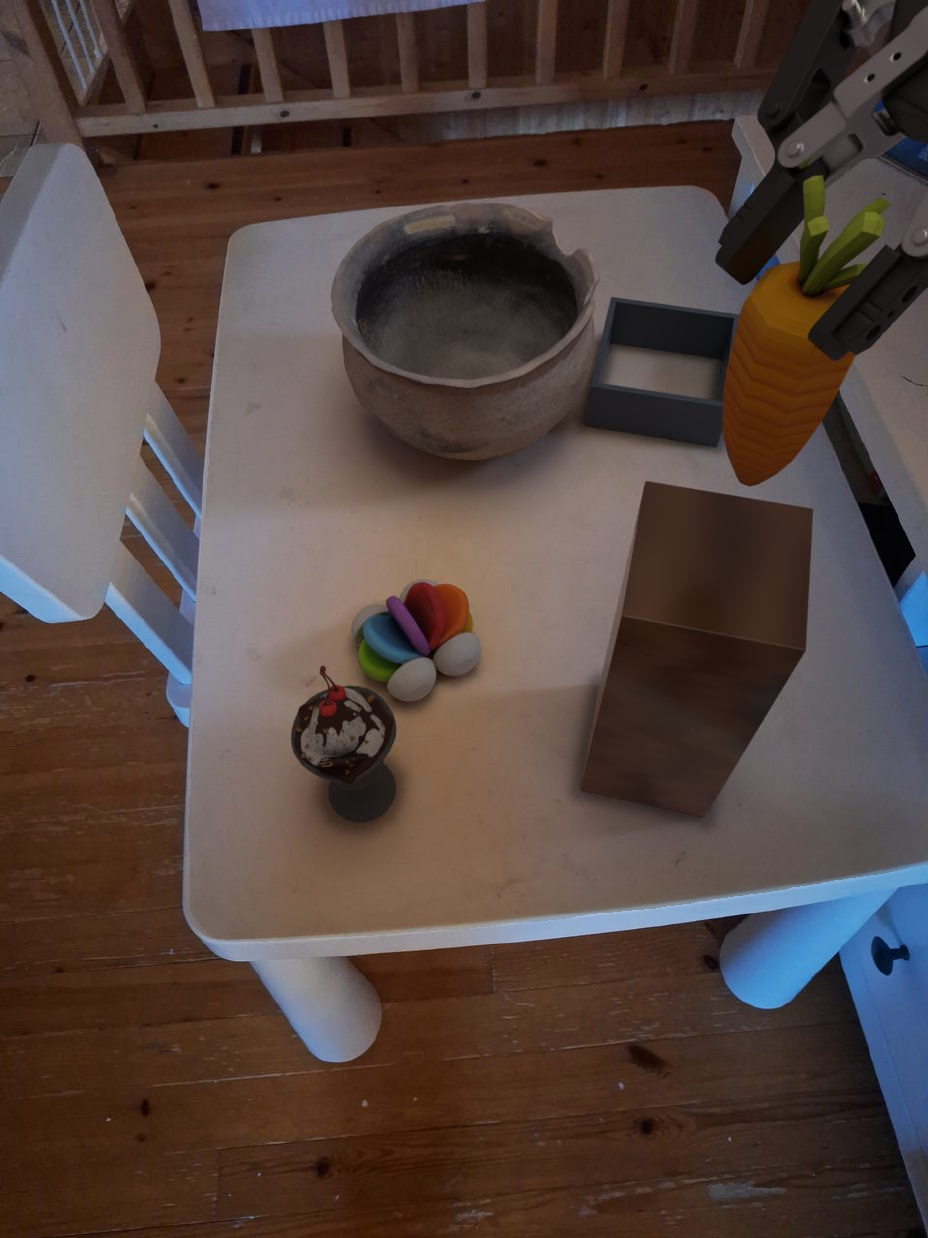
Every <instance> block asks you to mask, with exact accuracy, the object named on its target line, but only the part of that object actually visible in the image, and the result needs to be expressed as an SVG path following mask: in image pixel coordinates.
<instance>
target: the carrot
mask: <svg viewBox="0 0 928 1238" xmlns="http://www.w3.org/2000/svg"><path fill="white" fill-rule="evenodd" d="M803 195H804V219H803V231H802V234H801V237H800V240H799V260H798V261H797V260H796V261H792V262H786V263H781V264H777V265H773V266H771V267H770V266H769V267H768V268H766V269H765V270H764V271H763V273H762V274H761V276H760V278H759V279H758V280H757V283H756V284H755V285H754V287H753V288H752V290H751V291H750V293H749V295H748V296H747V298H746V299H745V301H744V303H743V304H742V306H741V309H740V312H739V320H738V324H737V328H736V332H735V336H734V340H733V344H732V348H731V353H730V358H729V363H728V368H727V373H726V378H725V383H724V397H723V430H722V436H723V442H724V446H725V450H726V455H727V458H728V460H729V462H730V465H731V467H732V470H733V473H734V474H735V477H736V478H737V481H738V482H739V484H741V485H744V486H746V487H749V488H750V487H753V486H759V485H760V484H762V483H764V482H766V481H768V480H769V479H771V478H773V477H774V476H777V474H779V473H780V472H782V470H784V469H785V468H786V467H787V466H788V465H790V464H791V463H792V462H793V461H794V460H795V459H796V458H797V456H798V455H799V453H801V451H802V449H803V448H804V447H805V446H806V445H807V443H808V442H809V440H810V439H811V438H812V436H813V435H814V433H815V432H816V431H817V429H818V428H819V426H820V424H821V423H822V422H823V421H824V418H825V416H826V415H827V413H828V410H829V409H830V407H831V405H832V403H833V402H834V400H835V398H836V396H837V394H838V392H839V390H840V388H841V386H842V384H843V382H844V380H845V378H846V376H847V375H848V372H849V371H850V368H851V367H852V365H853V362H854V361H855V359H856V356H857V355H854V354H853V353H852V352H851V351H849V352H848V353H847V354H846V355H845V356H844V357H842V358H841V359H839V360H837V361H833V360H831V359H830V358H829V357H828V356H826V355H825V354H824V353H823V352H822V351H820V350H819V349H818V348H817V347H816V346H815V345H813V344H812V343H811V342H810V341H809V340H808V333H809V331H810V329H811V328H812V327H813V325H814V324H815V323H816V322H817V321H818V320H819V319H820V317H821V316H822V315H823V314H824V313H825V312H826V311H827V310H828V308H829V307H830V306H831V305H832V304H833V303H834V302H835V301H836V299H837V298H838V297H839V296H840V295H841V294H842V293H843V292H844V291H845V289H846V288H847V287H848V286H849V285H850V284H851V283H852V282H853V280H854V279H855V278H856V277H857V276H858V275H859V274H860V273H861V271H862V270H863V269H864V268H865V267H866V266H867V265H868V264H867V263H855V264H852V265H849V266H847V264H849V263H851V261H853V260H854V259H855V258H856V257H858V256H860V254H862V253H863V252H865V250H867V249H868V248H870V246H871V245H873V244H874V243H875V242H876V241H877V240H878V239H879V238H881V237H882V234H883V231H884V228H885V219H884V217H883V216H882V215H881V214H882V213H883V212H884V211H886V210H887V209H888V208H889V207H890V206H891V203H889V201H888V200H886V199H884V198H882V197H878V198H875V199H874V200H872V201H871V202H869V203H868V204H867V205H865V206H864V207H863V208H862V209H861V210H860V211H858V212H857V213H856V214H855V215H854V216H853V218H851V220H850V221H849V222H848V224H847V225H846V226H845V227H844V228H843V230H842V231H841V232H840V234H839V235H838V236H837V237H836V238H835V239H834V240H833V241H832V242H831V243H830V244H829V245H828V246H827V248H826V249H825V251H824V252H823V253H822V254H821V256H820V250H821V246H822V244H823V242H824V241H825V238H826V236H827V235H828V232H829V230H830V229H829V221H828V219H827V217H826V216H825V207H826V189H825V185H824V178H823V175H820V176H812V177H811V178H809V179H807V180H805V182H804V183H803ZM845 266H847V267H845Z"/></svg>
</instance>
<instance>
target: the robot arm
mask: <svg viewBox="0 0 928 1238" xmlns="http://www.w3.org/2000/svg"><path fill="white" fill-rule="evenodd" d="M890 21H891V23H890V27H889V32H888V38H887V41H886V42H887V43H886V45H885V46H883V47H882V48H881V49H880V50H879V51H877V52H876V53H875V54H874V55H872V56H871V57H870V58H869V59H868V60H866V61H865V62H864V63H863V64H862V65H860V66H859V67H858V68H857V69H855V70H854V71H853V72H851V74H849V76H847V77H846V78H845V76H846V74H847V72H848V70H849V68H850V66H851V64H852V62H853V60H854V58H855V57H856V55H857V52H858V51H859V48H860V47H862V48H868V47H870V46H872V44H873V43H874V41H875V38H876V37H875V36H876V35H877V33H878V32H879V30H880V29H881V27H883V26H884V25H885V24H886V23H888V22H890ZM785 52H786V53H785V54H784V56H783V58H782V60H781V62H780V63H779V64H780V65H779V66H778V69H777V70H776V72H775V74H774V77H773V79H772V81H771V82H770V85H769V87H768V89H767V91H766V93H765V95H764V97H763V99H762V101H761V103H760V105H759V107H758V110H757V114H756V118H757V121H758V124H759V125H760V126H761V127H762V129H763V130H764V132H765V134H766V136H767V138H768V139H769V142H770V144H771V146H772V147H773V150H774V151H773V152H774V160H773V163H772V166H771V167H770V168H769V169H770V170H769V171H768V172H767V173H766V175H765V176H763V178H762V179H761V181H760V182H759V183H758V184H757V186H755V188H754V190H753V191H752V192H751V193H750V195H749V196H748V197H747V198H746V200H745V201H744V202H743V204H742V205H741V206H740V207H739V208H738V210H737V211H736V212H735V214H734V215H733V216H732V217H731V218H730V220H729V221H728V222H727V223H726V224H725V226H724V227H723V229H722V232H721V233H720V237H719V239H718V241H717V243H718V244H719V245H720V247H719V248H718V250H717V252H716V254H715V256H714V257H715V258H714V262H715V264H716V265H717V266H718V267H719V268H721V269H722V270H723V271H724V272H725V273H727V274H728V275H729V276H730V277H731V278H732V279H734V280H735V281H736V282H737V283H739V284H740V285H741V286H746V285H748V284H750V283H751V282H752V281H753V280H754V279H755V278H756V277H757V276H758V274H759V273H760V272H761V271H762V270H763V269H764V268H765V266H766V265H767V264H768V263H769V261H770V260H771V259H772V258H773V256H774V255H775V254H776V253H777V252H778V251H779V249H780V248H781V247H782V246H783V244H784V243H785V242H786V241H787V240H788V239H789V238H790V236H791V235H792V234H793V233H794V231H795V230H796V229H797V228H798V227H799V226H800V225H801V223H802V222H804V195H803V183H804V182H805V180H807V179H809V178H811V177H812V176H820V175H823V178H824V185H825V190H826V189H827V188H829V187H830V186H831V185H833V184H834V183H835V182H837V181H838V180H839V179H840V178H842V177H844V176H845V175H846V174H847V173H848V172H850V171H851V170H852V169H854V168H855V167H857V166H858V165H859V164H860V163H861V162H863V161H865V160H868V159H869V160H870V159H873V160H874V159H877V158H878V157H881V156H882V155H884V154H885V153H886V152H888V151H890V150H891V149H892V148H893V147H895V146H896V145H898V143H900V142H901V141H902V140H905V138H906V137H907V138H908V139H910V140H912V141H914V142H918V143H922V144H925V145H928V0H811V1H810V3H809V5H808V7H807V9H806V11H805V13H804V15H803V17H802V19H801V21H800V23H799V26H798V27H797V29H796V31H795V34H794V35H793V38H792V40H791V42H790V44H789V46H788V48H787V50H786V51H785ZM844 78H845V79H844ZM880 101H881V102H882V103H881V104H882V105H883V108H882V109H880V110H878V111H875V112H874V110H875V109H876V106H877V105H878V104H879V102H880ZM866 265H867V266H866V267H865V268H864V269H863V270H862V271H861V273H860V274H859V275H858V276H857V277H856V278H855V279H854V280H853V282H852V283H851V284H850V285H849V286H848V287H847V288H846V289H845V291H844V292H843V293H842V294H841V295H840V296H839V297H838V298H837V299H836V301H835V302H834V303H833V304H832V305H831V306H830V307H829V308H828V310H827V311H826V312H825V313H824V314H823V315H822V316H821V317H820V319H819V320H818V321H817V322H816V323H815V324H814V325H813V327H812V328H811V329H810V331H809V333H808V340H809V341H810V342H811V343H812V344H813V345H815V346H816V347H817V348H818V349H819V350H820V351H822V352H823V353H824V354H825V355H826V356H828V357H829V358H830V359H831V360H833V361H837V360H839V359H841V358H842V357H844V356H845V355H846V354H847V353H848V352H849V351H851V352H852V353H853V354H854V355H856V356H858V355H860V354H861V353H864V352H865V351H867V350H869V349H871V348H872V347H873V346H874V345H875V344H876V342H878V340H879V339H881V337H882V336H883V334H884V333H886V332H887V331H888V330H889V329H890V328H891V327H892V325H893V324H895V322H896V321H897V320H898V319H899V318H900V317H901V316H902V315H903V314H904V313H905V311H907V309H909V308H910V307H911V306H912V304H913V303H914V302H915V301H917V299H918V298H919V297H920V296H921V295H922V294H923V292H925V290H927V289H928V187H927V188H926V190H925V192H924V194H923V196H922V197H921V200H920V201H919V203H918V205H917V207H916V209H915V210H914V213H913V214H912V216H911V219H910V220H909V222H908V224H907V226H906V228H905V230H904V232H903V234H902V236H901V239H900V242H899V244H898V245H897V246H896V247H895V248H894V249H893V248H892V247H891V246H889V245H888V244H884V245H883V247H882V248H881V249H880V250H879V251H878V252H877V253H876V254H875V256H874V257H873V258H872V259H871V260H870V261H869V262H868V264H866Z"/></svg>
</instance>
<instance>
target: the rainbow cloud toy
mask: <svg viewBox="0 0 928 1238" xmlns="http://www.w3.org/2000/svg"><path fill="white" fill-rule="evenodd" d="M473 629H474V619H473V616H472V614H471V612H470V602H469V598H468V596H467V594H466V593H465V591H464V590H462V589H461V588H459V587H458V586H456V585H453V584H451V583H437V582H435V581H433V580H432V579H431V580H430V579H424V578H423V579H416V580H413V581H411V582H410V583H408V584H407V585H406V586H404V588H403V589H402V591H400V595H399V596H396V595H390V596H388V597H387V598H386V600H385V604H380V603H378V604H377V603H376V604H375V603H374V604H370V605H367V606H364V607H363V608H362V609H360V610H359V611H358V612H357V613H356V615H355V616H354V618H353V620H352V623H351V628H350V634H351V638H352V641H353V643H354V644H355V645H356V646H357V647H359V648H358V651H357V660H358V661H357V662H358V665H359V668H360V669H361V671H362V672H363V673H364V674H365V675H366V676H367V677H369V678H370V679H372V680H375V681H377V682H384V683H387V685H386V686H387V687H386V688H387V691H388V693H389V694H390V695H391V696H393V698H396V699H397V700H400V701H403V702H415V701H419V700H421V699H423V698H425V697H426V696H428V694H430V692H431V691H432V689H433V688H434V685H435V683H436V679H437V671H438V672H441V673H442V674H444V675H446V676H452V677H453V676H455V677H457V676H461V675H465V674H467V673H468V672H470V671H472V669H474V667H475V666H476V665H477V663H478V661H479V660H480V656H481V642H480V640H479V637H478V636H477V634H476V633H474V632H473ZM429 654H431V655H432V659H431V658H430V657H427V656H428V655H429Z"/></svg>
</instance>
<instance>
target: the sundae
mask: <svg viewBox="0 0 928 1238" xmlns="http://www.w3.org/2000/svg"><path fill="white" fill-rule="evenodd" d="M319 668H320V669H319V675H320V676H321V677H322V679H324V681H325V683H326V686H327V689H325V690H322V691H320V692H318V693H316V694H314V695H312V696H311V697H309V698H308V699H307V700H306V701H305V702H304V703H303V704H301V705H299V707H298V710H297V713H296V716H295V718H294V720H293V723H292V727H291V733H290V741H291V748H292V753H293V754H294V756H295V758H296V759H297V760H298V762H299V764H300V765H301V766H302V767H303V768H305V769H306V770H307V771H308V772H310V773H312V774H313V775H315V776H317V777H318V778H321V779H324V780H326V781H328V782H329V783H328V788H327V794H328V801H329V803H330V806H331V807H332V808H333V810H334V812H336V814H338V815H339V816H340V817H342V818H343V819H345V820H348V821H350V822H351V821H352V822H357V823H361V822H368V821H372V820H374V819H376V818H379V817H381V815H383V814H384V813H386V811H387V810H388V809H389V808H390V806H391V805H392V803H393V802H394V800H395V796H396V791H397V785H396V779H395V776H394V774H393V772H392V771H391V769H390V768H389V766H387V764H385V763H384V761H385V758H386V757H387V755H388V754H390V752H391V750H392V748H393V746H394V743H395V740H396V738H397V723H396V721H397V720H396V718H395V715H394V713H393V711H392V709H391V707H390V705H389V704H388V703H387V702H386V700H385V699H384V698H383V697H382V696H381V695H379V694H378V693H377V692H375V691H373V690H371V689H369V688H367V687H363V686H360V685H359V686H358V685H343V686H341V685H339V684H335V682H334V681H333V680H332V678H331V677H330V676H329V675H328V674H327V673H326V671H327V667H326V666H325V665H321V666H320V667H319ZM329 682H330V683H329ZM330 684H331V685H330Z"/></svg>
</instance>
